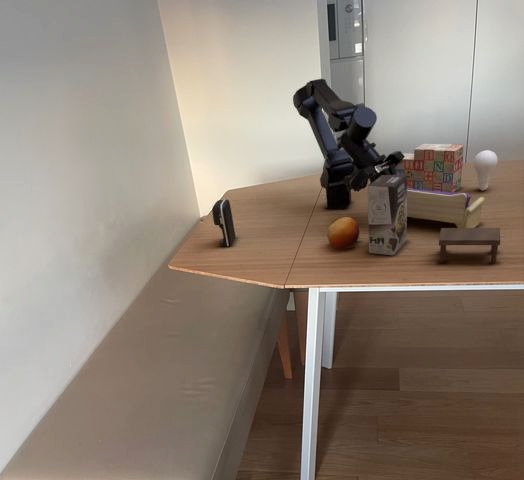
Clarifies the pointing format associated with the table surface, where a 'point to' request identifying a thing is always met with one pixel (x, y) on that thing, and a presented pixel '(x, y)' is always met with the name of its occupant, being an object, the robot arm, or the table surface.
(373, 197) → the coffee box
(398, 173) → the stack of blocks
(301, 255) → the table surface
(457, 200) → the toy sofa
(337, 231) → the fruit
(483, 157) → the lightbulb
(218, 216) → the battery charger
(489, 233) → the coffee table
